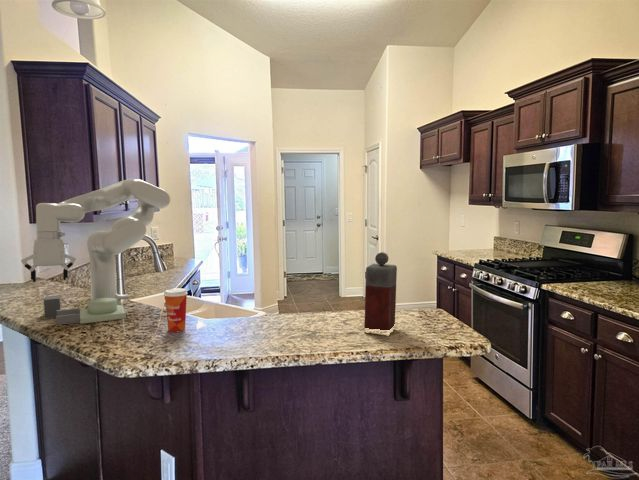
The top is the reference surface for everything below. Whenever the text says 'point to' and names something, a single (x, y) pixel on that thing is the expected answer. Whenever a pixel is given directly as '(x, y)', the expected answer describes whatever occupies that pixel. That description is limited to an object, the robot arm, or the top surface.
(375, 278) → the square decanter
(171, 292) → the paper cup
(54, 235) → the robot arm
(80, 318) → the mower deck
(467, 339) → the top surface
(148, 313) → the top surface
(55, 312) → the grey rectangular block
